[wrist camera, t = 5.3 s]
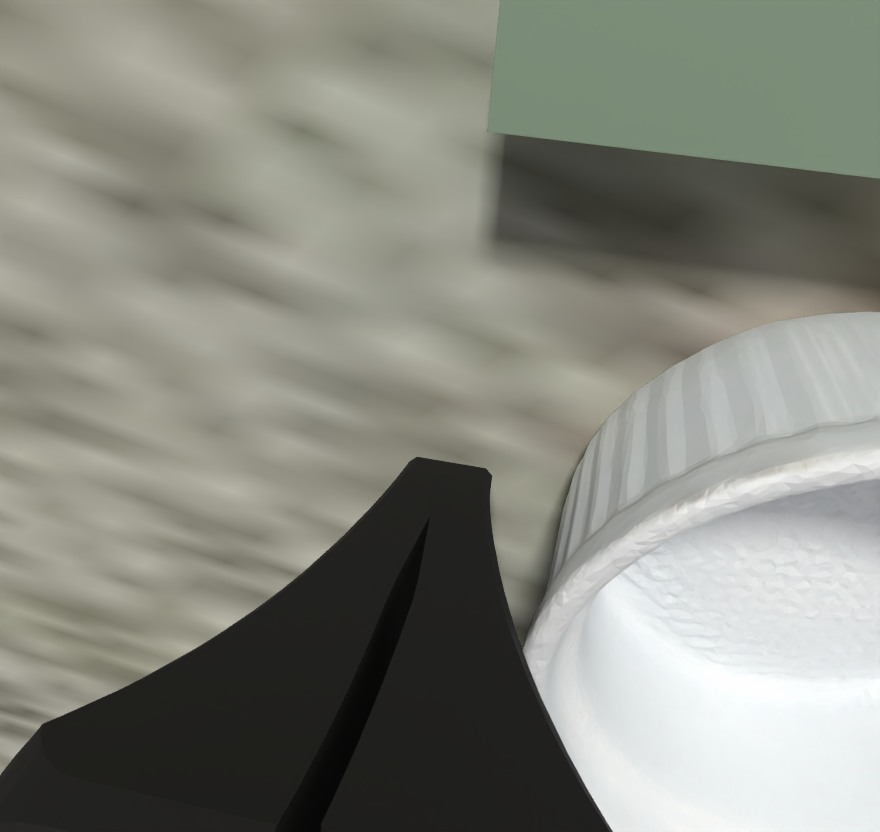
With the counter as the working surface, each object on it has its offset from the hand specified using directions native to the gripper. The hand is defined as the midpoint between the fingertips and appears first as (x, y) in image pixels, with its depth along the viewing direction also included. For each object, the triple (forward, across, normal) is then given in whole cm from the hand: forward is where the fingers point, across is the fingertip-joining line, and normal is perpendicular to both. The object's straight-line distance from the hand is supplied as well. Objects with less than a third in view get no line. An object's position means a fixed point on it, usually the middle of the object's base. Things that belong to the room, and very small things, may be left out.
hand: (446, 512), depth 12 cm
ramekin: (+2, -6, 0) cm, 6 cm away
